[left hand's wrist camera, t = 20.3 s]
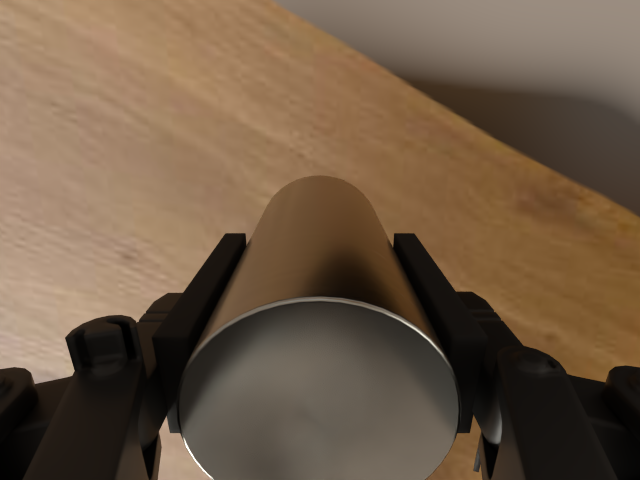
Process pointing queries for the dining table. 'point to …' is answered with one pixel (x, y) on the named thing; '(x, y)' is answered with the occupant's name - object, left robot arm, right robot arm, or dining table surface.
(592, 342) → the dining table surface
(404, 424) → the tin
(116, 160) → the dining table surface
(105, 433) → the left robot arm
